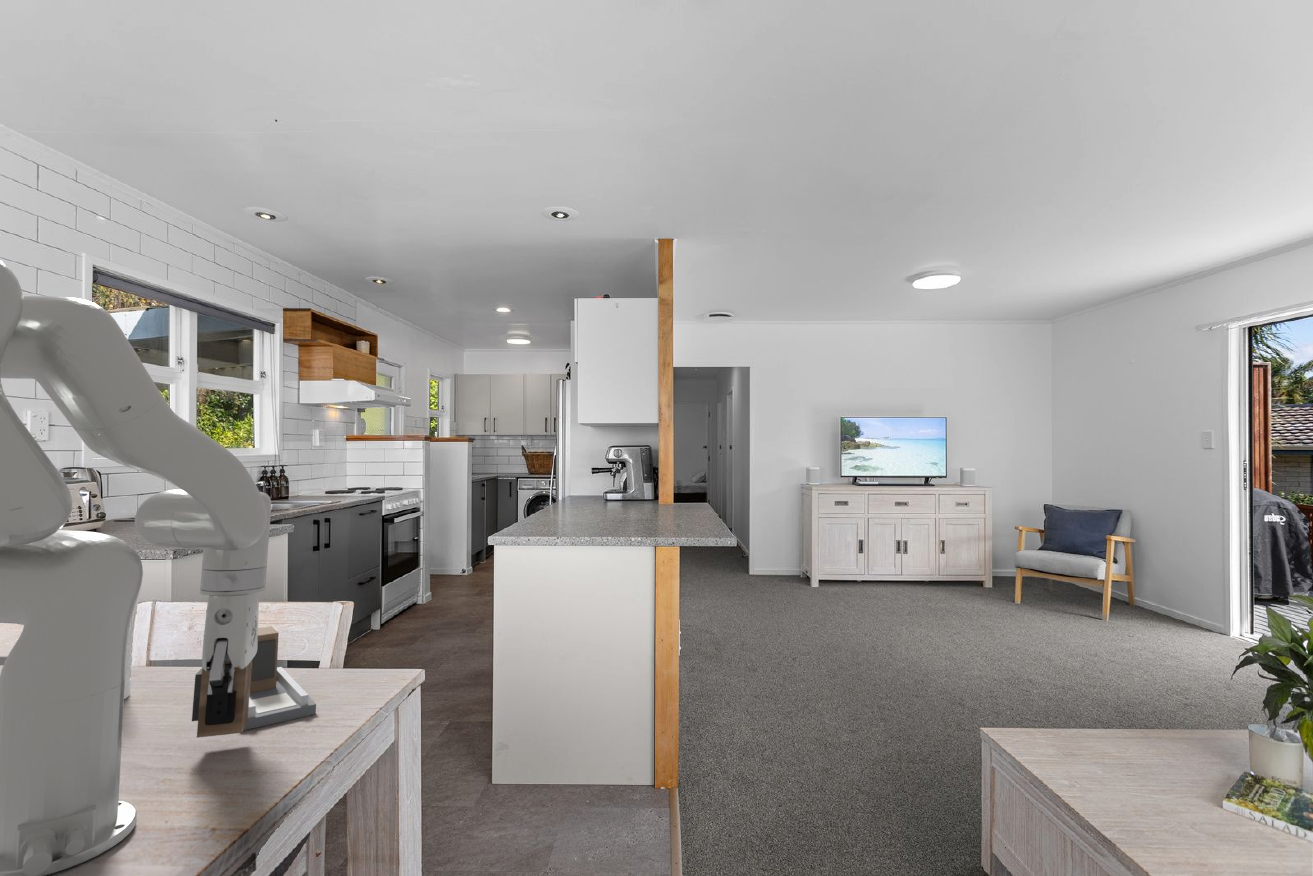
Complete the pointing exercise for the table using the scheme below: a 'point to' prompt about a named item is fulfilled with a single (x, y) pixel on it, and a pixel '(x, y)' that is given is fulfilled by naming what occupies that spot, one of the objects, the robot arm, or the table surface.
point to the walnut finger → (240, 707)
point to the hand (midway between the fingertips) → (223, 715)
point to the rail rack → (274, 687)
